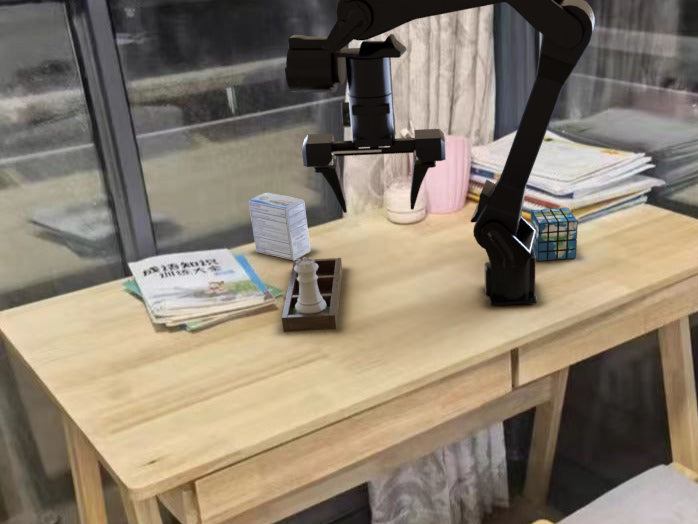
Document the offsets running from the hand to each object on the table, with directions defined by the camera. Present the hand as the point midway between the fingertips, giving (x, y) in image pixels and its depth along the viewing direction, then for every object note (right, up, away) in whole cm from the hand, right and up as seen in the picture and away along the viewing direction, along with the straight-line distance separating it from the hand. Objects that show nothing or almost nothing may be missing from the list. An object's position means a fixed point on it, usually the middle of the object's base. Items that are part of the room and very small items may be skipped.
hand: (378, 210), depth 130 cm
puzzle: (+26, -3, +16) cm, 31 cm away
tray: (-9, -12, +5) cm, 16 cm away
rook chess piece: (-9, -15, -1) cm, 17 cm away
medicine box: (-16, -2, +20) cm, 26 cm away
